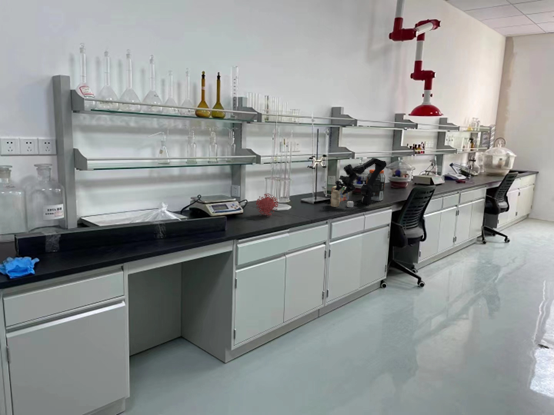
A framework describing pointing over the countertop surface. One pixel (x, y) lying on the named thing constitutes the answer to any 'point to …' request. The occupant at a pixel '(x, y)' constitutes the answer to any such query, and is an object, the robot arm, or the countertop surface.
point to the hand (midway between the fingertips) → (338, 193)
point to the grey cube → (350, 204)
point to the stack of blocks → (342, 197)
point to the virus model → (267, 204)
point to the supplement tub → (377, 185)
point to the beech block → (335, 198)
